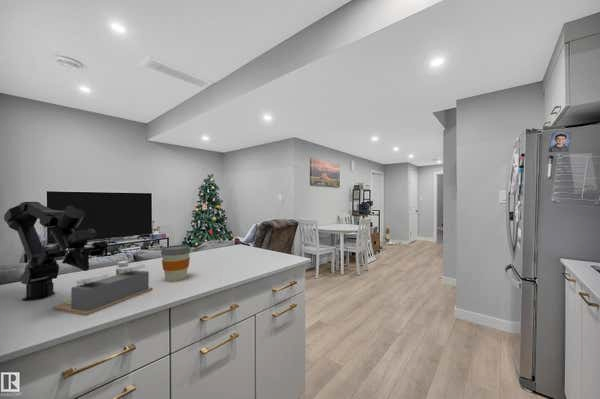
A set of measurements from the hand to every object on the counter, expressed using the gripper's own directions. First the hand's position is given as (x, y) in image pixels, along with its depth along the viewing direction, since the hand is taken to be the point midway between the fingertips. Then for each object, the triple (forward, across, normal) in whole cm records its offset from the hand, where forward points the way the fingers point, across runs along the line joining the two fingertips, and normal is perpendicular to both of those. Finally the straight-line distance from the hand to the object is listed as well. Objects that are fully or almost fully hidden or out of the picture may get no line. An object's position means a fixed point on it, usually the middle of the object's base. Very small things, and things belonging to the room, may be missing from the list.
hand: (87, 269), depth 84 cm
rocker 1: (+5, 0, +1) cm, 5 cm away
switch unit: (+9, +7, +9) cm, 15 cm away
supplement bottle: (0, +22, +19) cm, 29 cm away
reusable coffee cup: (+13, +34, +6) cm, 37 cm away
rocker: (+5, +14, +1) cm, 15 cm away
